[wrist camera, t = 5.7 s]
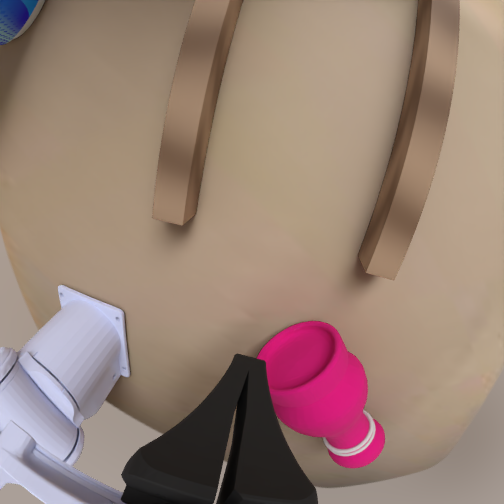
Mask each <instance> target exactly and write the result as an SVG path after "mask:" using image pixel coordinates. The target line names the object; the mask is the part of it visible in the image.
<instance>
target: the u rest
mask: <svg viewBox="0 0 504 504" xmlns="http://www.w3.org/2000/svg"><path fill="white" fill-rule="evenodd" d="M242 2H243V0H195V2H194V5H193V8H192V12H191V15H190V18H189V21H188V25H187V28H186V32H185V35H184V39H183V42H182V46H181V50H180V54H179V58H178V62H177V66H176V70H175V74H174V79H173V83H172V88H171V92H170V97H169V102H168V107H167V112H166V118H165V123H164V129H163V135H162V141H161V148H160V155H159V162H158V169H157V177H156V185H155V194H154V204H153V215H152V218H153V219H157V220H161V221H166V222H170V223H174V224H178V225H182V226H183V225H184V224H185V223H186V222H187V221H188V220H190V219H191V218H192V217H193V216H194V215H195V214H196V211H197V205H198V198H199V192H200V186H201V180H202V174H203V169H204V163H205V158H206V152H207V147H208V142H209V137H210V132H211V127H212V122H213V117H214V112H215V107H216V103H217V98H218V94H219V89H220V85H221V81H222V76H223V72H224V68H225V64H226V60H227V56H228V52H229V48H230V44H231V41H232V37H233V33H234V29H235V26H236V22H237V19H238V15H239V12H240V8H241V5H242ZM459 19H460V2H459V0H418V13H417V23H416V32H415V40H414V48H413V54H412V61H411V67H410V73H409V78H408V84H407V89H406V94H405V99H404V104H403V108H402V113H401V117H400V122H399V126H398V130H397V134H396V138H395V142H394V146H393V149H392V153H391V157H390V160H389V164H388V167H387V171H386V174H385V178H384V181H383V184H382V187H381V191H380V194H379V197H378V200H377V203H376V206H375V209H374V212H373V215H372V218H371V221H370V224H369V227H368V229H367V232H366V235H365V238H364V241H363V243H362V246H361V249H360V251H359V254H358V257H359V259H360V261H361V263H362V266H363V268H364V270H365V272H366V273H368V274H372V275H376V276H379V277H383V278H387V279H390V280H395V277H396V275H397V273H398V271H399V269H400V266H401V264H402V262H403V259H404V257H405V255H406V252H407V250H408V247H409V245H410V242H411V240H412V237H413V235H414V232H415V230H416V227H417V224H418V222H419V219H420V216H421V213H422V211H423V208H424V205H425V202H426V199H427V196H428V193H429V190H430V186H431V183H432V180H433V177H434V173H435V170H436V166H437V163H438V159H439V155H440V151H441V147H442V143H443V139H444V135H445V131H446V126H447V121H448V116H449V111H450V106H451V100H452V94H453V88H454V81H455V74H456V65H457V55H458V42H459Z"/></svg>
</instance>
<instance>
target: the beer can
mask: <svg viewBox="0 0 504 504" xmlns="http://www.w3.org/2000/svg"><path fill="white" fill-rule="evenodd" d="M44 2H45V0H0V45H4V44H7V43H8V42H10V41H11V40H13V39H15V38H17V37H19V36H21V35H22V34H23V33H24V32H25V31H26V30H27V29H28V28H29V27H30V25H31V24H32V23H33V21H34V20H35V18H36V17H37V15H38V14H39V12H40V10H41V8H42V6H43V4H44Z"/></svg>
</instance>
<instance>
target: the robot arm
mask: <svg viewBox="0 0 504 504" xmlns="http://www.w3.org/2000/svg"><path fill="white" fill-rule="evenodd" d="M58 292H59V298H60V303H61V308H62V309H61V310H60V311H59V312H58V313H57V314H56V315H55V316H53V317H52V318H51V319H50V320H49V321H48V322H47V323H46V324H45V325H44V326H43V327H42V328H41V329H40V330H39V331H38V332H37V333H36V334H35V335H34V336H33V337H32V338H31V339H30V340H29V341H28V342H27V343H26V344H25V345H24V347H22V348H21V349H20V351H19V352H15V350H14V349H13V348H7V347H1V348H0V490H1V488H2V487H3V486H4V485H5V484H6V483H13V484H19V485H22V486H23V487H24V488H25V489H27V490H28V491H29V492H31V493H32V494H33V495H34V496H36V497H37V498H38V499H40V500H41V501H42V502H44V503H45V504H213V503H214V500H215V496H216V493H217V489H218V484H219V479H220V474H221V469H222V465H223V460H224V455H225V451H226V446H227V442H228V437H229V433H230V428H231V424H232V419H233V415H234V411H235V409H236V406H237V410H236V417H235V425H234V432H233V439H232V445H231V451H230V455H229V458H228V462H227V466H226V470H225V474H224V478H223V482H222V485H221V488H220V492H219V496H218V499H217V503H216V504H318V498H317V493H316V488H315V487H314V486H313V484H312V483H311V482H310V481H309V479H308V478H307V476H306V475H305V473H304V472H303V470H302V469H301V467H300V466H299V464H298V463H297V461H296V459H295V457H294V455H293V454H292V452H291V450H290V448H289V446H288V444H287V442H286V440H285V437H284V435H283V433H282V430H281V428H280V425H279V422H278V420H277V417H276V413H275V410H274V407H273V403H272V399H271V395H270V390H269V385H268V379H267V370H266V362H265V360H261V359H257V358H253V357H249V356H245V355H241V354H236V355H235V356H234V358H233V361H232V363H231V365H230V366H229V368H228V370H227V371H226V373H225V375H224V376H223V377H222V379H221V380H220V381H219V383H218V384H217V386H216V387H215V388H214V389H213V390H212V392H211V393H210V394H209V395H208V396H207V397H206V398H205V400H204V401H203V402H202V403H201V404H200V405H199V406H198V407H197V408H196V409H195V410H194V411H193V412H191V413H190V414H189V415H188V416H187V417H186V418H185V419H183V420H182V421H181V422H180V423H178V424H177V425H176V426H175V427H173V428H172V429H170V430H169V431H167V432H166V433H165V434H163V435H162V436H160V437H158V438H157V439H155V440H153V441H152V442H150V443H148V444H147V445H145V446H143V447H141V448H140V449H139V450H138V451H137V452H136V453H135V454H134V455H133V456H132V457H131V458H130V459H129V461H128V462H127V464H126V466H125V468H124V470H123V472H122V474H121V475H122V478H123V480H124V481H125V483H126V488H125V490H124V492H120V491H118V490H116V489H114V488H112V487H109V486H107V485H105V484H103V483H101V482H99V481H97V480H96V479H94V478H92V477H90V476H88V475H86V474H84V473H83V472H81V471H79V470H77V469H76V468H74V467H72V466H73V465H74V464H75V463H76V462H77V460H78V459H79V457H80V455H81V453H82V450H83V445H84V432H83V429H82V428H81V426H80V425H81V423H82V422H83V420H85V419H88V418H90V417H92V416H93V415H94V414H96V413H97V411H98V410H99V409H100V407H101V405H102V404H103V402H104V401H105V399H106V398H107V396H108V394H109V393H110V391H111V389H112V388H113V386H114V385H115V383H116V382H117V380H118V378H119V377H120V375H122V376H125V377H129V376H130V368H129V360H128V351H127V342H126V331H125V319H124V312H123V311H122V310H121V309H119V308H117V307H114V306H111V305H109V304H106V303H104V302H101V301H99V300H96V299H94V298H92V297H89V296H87V295H84V294H82V293H80V292H77V291H75V290H73V289H70V288H68V287H66V286H64V285H60V286H58ZM118 317H119V318H120V319H119V318H118Z"/></svg>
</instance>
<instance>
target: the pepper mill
mask: <svg viewBox="0 0 504 504" xmlns="http://www.w3.org/2000/svg"><path fill="white" fill-rule="evenodd" d="M257 359H261V360H265V362H266V370H267V379H268V385H269V390H270V395H271V399H272V403H273V407H274V410H275V413H276V415H277V417H278V418H279V419H280V420H281V421H282V422H283V423H284V424H285V425H287V426H288V427H290V428H291V429H293V430H294V431H296V432H298V433H301V434H304V435H308V436H312V437H323V441H324V444H325V445H326V447H327V448H328V452H329V455H330V456H331V458H332V459H333V461H334V462H336V463H337V464H339V465H340V466H343V467H346V468H360V467H363V466H366V465H368V464H370V463H371V462H373V461H374V460H375V459H376V458H377V457H378V456H379V454H380V453H381V451H382V449H383V447H384V444H385V433H384V430H383V428H382V426H381V425H380V424H379V423H378V422H377V421H376V420H375V419H373V418H372V417H371V415H370V414H369V413H368V412H367V411H365V410H363V408H364V406H365V403H366V400H367V392H368V386H367V378H366V374H365V371H364V368H363V366H362V364H361V363H360V361H359V360H358V359H357V357H356V356H354V355H353V354H352V353H350V352H348V351H347V349H346V347H345V345H344V343H343V341H342V339H341V336H340V334H339V333H338V331H337V330H336V329H335V328H334V327H333V326H331V325H330V324H328V323H324V322H321V321H308V322H302V323H298V324H295V325H293V326H290V327H288V328H287V329H285V330H283V331H281V332H279V333H278V334H277V335H276V336H274V337H273V338H272V339H271V340H269V342H268V343H267V344H266V345H265V346H264V347H263V348H262V350H261V351H260V353H259V354H258V356H257Z"/></svg>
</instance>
